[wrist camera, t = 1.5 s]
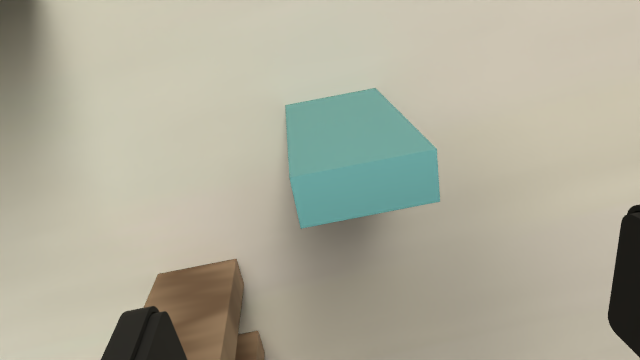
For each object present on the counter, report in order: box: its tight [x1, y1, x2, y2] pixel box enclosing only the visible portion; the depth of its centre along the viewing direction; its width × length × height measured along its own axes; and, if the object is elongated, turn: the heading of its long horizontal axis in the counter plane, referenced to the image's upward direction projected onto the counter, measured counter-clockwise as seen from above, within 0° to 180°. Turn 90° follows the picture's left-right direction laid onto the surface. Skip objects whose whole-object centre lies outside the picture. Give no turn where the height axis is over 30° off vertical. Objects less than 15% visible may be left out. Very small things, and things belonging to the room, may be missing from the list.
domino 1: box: [144, 259, 244, 360], centre depth 23 cm, size 5×2×10 cm, turn 100°
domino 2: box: [285, 88, 440, 229], centre depth 19 cm, size 5×2×10 cm, turn 100°
